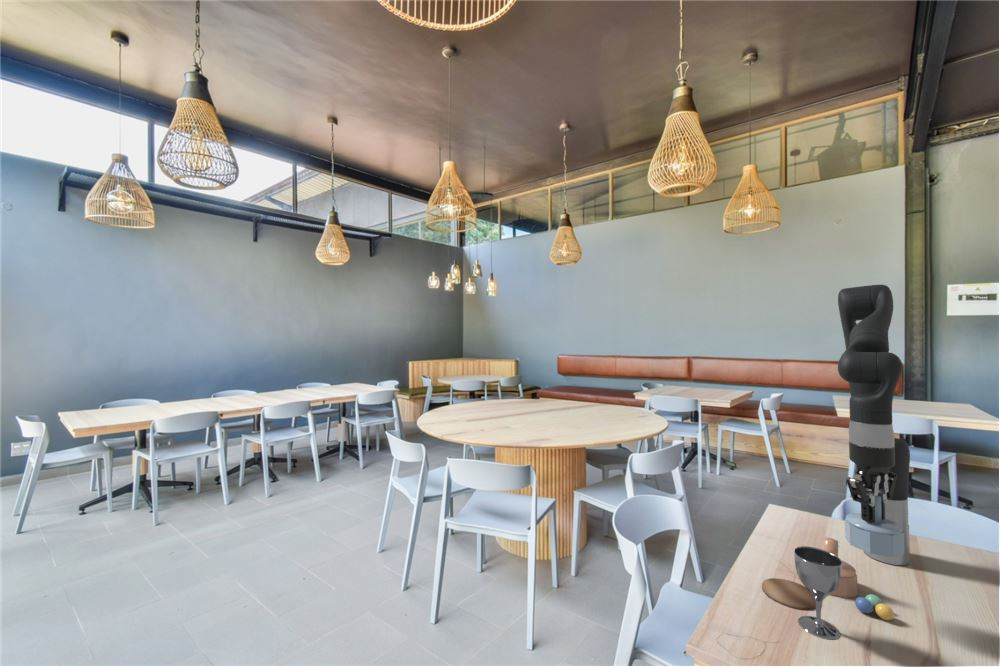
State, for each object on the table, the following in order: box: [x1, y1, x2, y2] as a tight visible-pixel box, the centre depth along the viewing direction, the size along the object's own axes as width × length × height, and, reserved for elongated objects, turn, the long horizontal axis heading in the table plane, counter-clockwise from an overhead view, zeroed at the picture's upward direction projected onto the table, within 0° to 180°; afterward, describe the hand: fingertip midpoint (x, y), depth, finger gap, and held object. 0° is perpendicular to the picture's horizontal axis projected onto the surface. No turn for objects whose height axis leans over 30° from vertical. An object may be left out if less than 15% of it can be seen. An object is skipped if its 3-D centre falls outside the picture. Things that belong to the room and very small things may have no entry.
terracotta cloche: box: [823, 537, 858, 599], centre depth 101 cm, size 9×9×11 cm
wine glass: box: [794, 546, 843, 640], centre depth 87 cm, size 8×8×15 cm
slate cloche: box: [844, 494, 905, 557], centre depth 91 cm, size 9×9×11 cm
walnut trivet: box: [761, 577, 816, 611], centre depth 98 cm, size 11×11×1 cm
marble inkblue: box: [854, 596, 874, 614], centre depth 91 cm, size 3×3×3 cm
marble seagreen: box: [864, 594, 884, 611], centre depth 93 cm, size 3×3×3 cm
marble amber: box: [874, 603, 895, 621], centre depth 89 cm, size 3×3×3 cm
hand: (873, 519), depth 91 cm, fingers closed on slate cloche, 3 cm apart
